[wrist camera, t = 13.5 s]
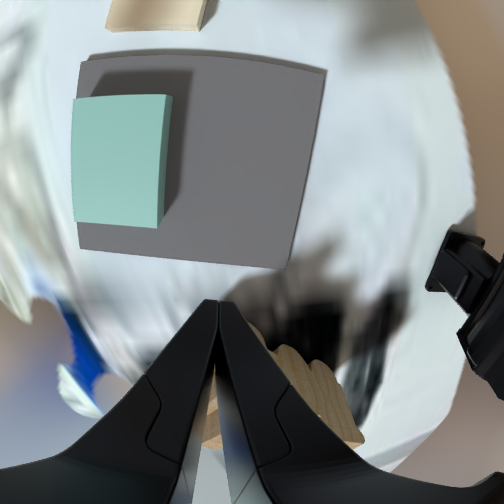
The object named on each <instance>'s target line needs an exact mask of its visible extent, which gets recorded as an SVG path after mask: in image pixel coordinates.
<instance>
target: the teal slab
mask: <svg viewBox="0 0 504 504" xmlns="http://www.w3.org/2000/svg"><path fill="white" fill-rule="evenodd" d="M172 102H173V96H169V95H163V94H140V95H113V96H98V97H87V98H78V99H74V100H73V112H72V129H71V183H72V200H73V213H74V221H75V222H88V223H100V224H112V225H124V226H135V227H147V228H158V226H159V224H160V223H161V221H162V219H163V218H164V200H165V180H166V164H167V151H168V139H169V129H170V119H171V111H172Z"/></svg>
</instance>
